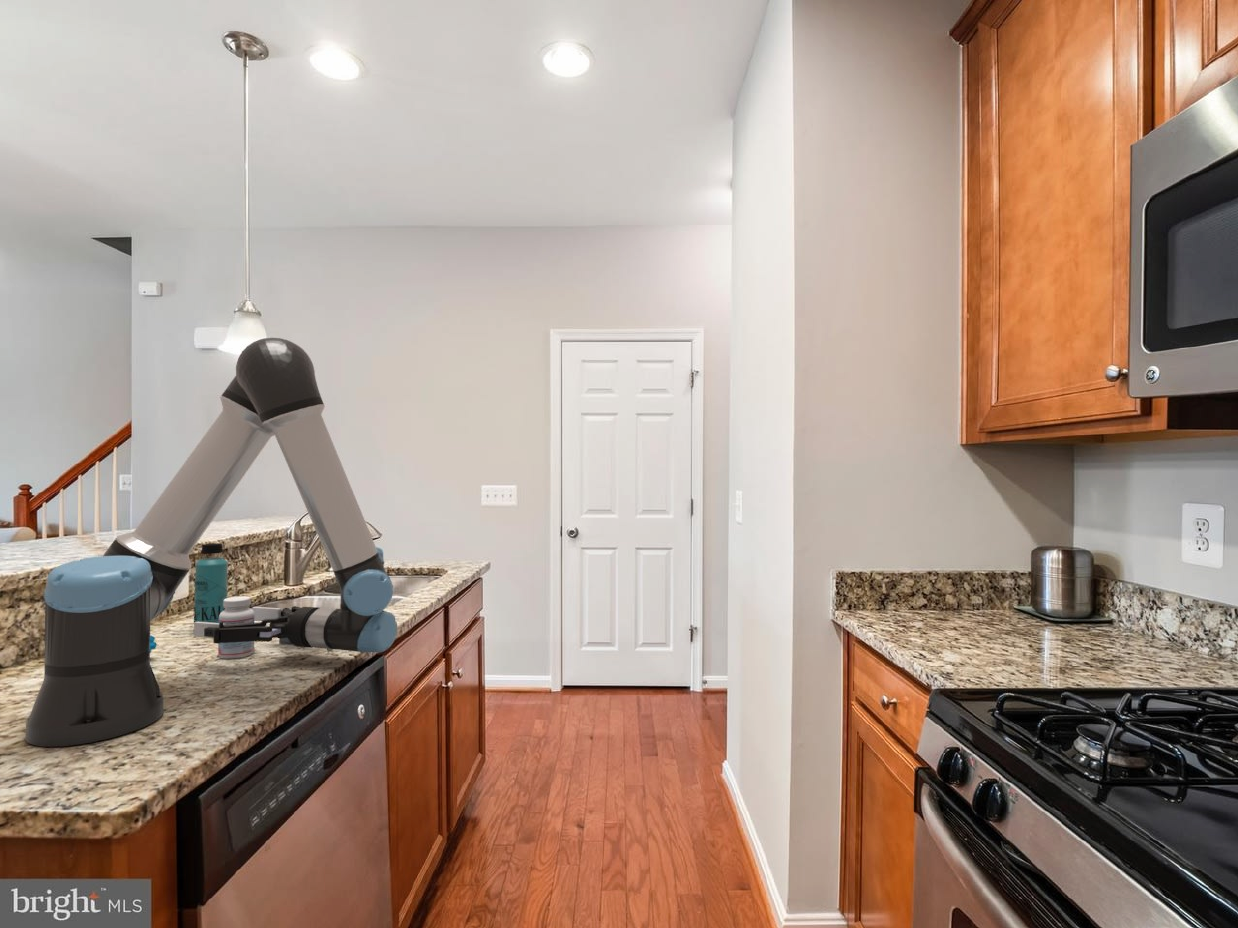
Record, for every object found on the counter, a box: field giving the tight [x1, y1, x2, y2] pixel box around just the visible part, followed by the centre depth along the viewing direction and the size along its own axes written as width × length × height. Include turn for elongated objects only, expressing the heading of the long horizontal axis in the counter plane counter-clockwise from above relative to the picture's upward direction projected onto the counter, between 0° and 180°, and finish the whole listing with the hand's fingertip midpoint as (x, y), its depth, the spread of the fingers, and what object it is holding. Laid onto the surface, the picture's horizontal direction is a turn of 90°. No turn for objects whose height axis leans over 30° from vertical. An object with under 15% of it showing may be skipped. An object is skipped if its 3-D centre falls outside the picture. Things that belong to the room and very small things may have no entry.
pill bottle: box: [217, 596, 255, 660], centre depth 123 cm, size 6×6×11 cm
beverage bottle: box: [192, 542, 229, 623], centre depth 142 cm, size 6×7×20 cm
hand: (225, 620), depth 124 cm, fingers open, 13 cm apart
